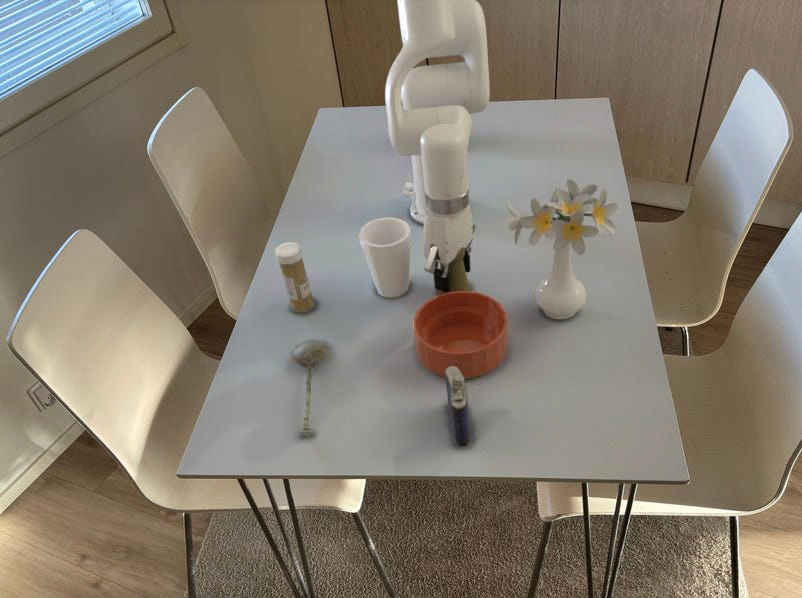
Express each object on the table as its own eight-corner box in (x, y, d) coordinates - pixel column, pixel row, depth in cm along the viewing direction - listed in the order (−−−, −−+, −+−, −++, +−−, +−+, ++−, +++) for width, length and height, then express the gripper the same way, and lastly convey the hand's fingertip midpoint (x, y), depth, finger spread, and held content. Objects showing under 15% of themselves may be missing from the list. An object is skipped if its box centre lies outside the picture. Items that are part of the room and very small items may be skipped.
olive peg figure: (466, 301, 131) (463, 254, 124) (435, 298, 132) (430, 251, 125) (471, 281, 136) (469, 234, 128) (441, 279, 137) (437, 232, 129)
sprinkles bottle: (317, 309, 132) (303, 251, 123) (294, 316, 131) (278, 259, 122) (310, 295, 135) (296, 238, 126) (288, 302, 134) (271, 245, 125)
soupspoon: (332, 344, 126) (297, 349, 126) (328, 330, 124) (292, 335, 124) (326, 435, 110) (285, 440, 110) (321, 421, 108) (280, 426, 108)
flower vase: (501, 294, 132) (500, 177, 115) (596, 283, 133) (609, 165, 115) (513, 340, 123) (514, 221, 105) (615, 328, 124) (633, 207, 106)
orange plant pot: (399, 360, 121) (394, 333, 117) (448, 308, 130) (446, 280, 126) (477, 394, 114) (476, 366, 110) (523, 336, 124) (524, 308, 119)
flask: (446, 404, 113) (442, 358, 106) (464, 401, 113) (461, 355, 106) (455, 448, 107) (451, 402, 99) (474, 445, 107) (471, 399, 99)
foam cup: (423, 276, 138) (417, 221, 128) (406, 306, 131) (399, 250, 122) (379, 269, 140) (370, 214, 131) (361, 297, 134) (350, 242, 125)
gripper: (455, 170, 126) (460, 250, 139) (400, 217, 116) (411, 299, 129) (491, 180, 123) (492, 261, 136) (437, 229, 113) (444, 312, 126)
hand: (452, 279), depth 132 cm, fingers open, 6 cm apart
